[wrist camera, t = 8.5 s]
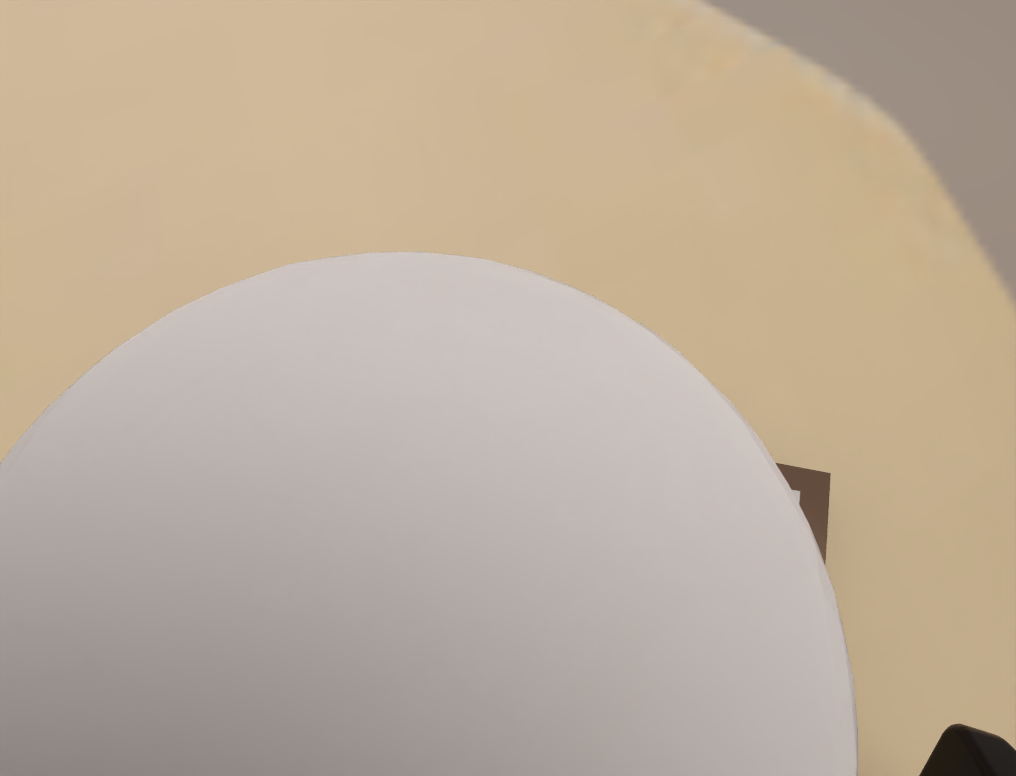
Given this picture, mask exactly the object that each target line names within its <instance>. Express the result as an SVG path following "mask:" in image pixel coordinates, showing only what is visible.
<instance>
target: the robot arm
mask: <svg viewBox="0 0 1016 776" xmlns="http://www.w3.org/2000/svg"><path fill="white" fill-rule="evenodd" d="M919 776H1016V750H1015V749H1014V748H1013V747H1012V746H1011V745H1010V744H1009V743H1008V742H1006V741H1005V740H1004V739H1003V738H1001V737H999V736H997V735H994V734H991V733H988V732H985V731H982V730H979V729H976V728H972V727H969V726H966V725H963V724H954V725H951V726H949V727H948V728H947V729H946V730H945V731H944V733H943V734H942V736H941V738H940V739H939V741H938V743H937V745H936V747H935V748H934V750H933V752H932V754H931V756H930V757H929V759H928V761H927V763H926V765H925V766H924V768H923V770H922V772H921V774H920V775H919Z"/></svg>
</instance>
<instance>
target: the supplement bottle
mask: <svg viewBox="0 0 1016 776" xmlns="http://www.w3.org/2000/svg"><path fill="white" fill-rule="evenodd" d="M857 764H858V728H857V716H856V704H855V692H854V681H853V676H852V671H851V666H850V661H849V656H848V651H847V646H846V641H845V636H844V631H843V626H842V622H841V617H840V613H839V609H838V605H837V601H836V597H835V593H834V590H833V587H832V584H831V581H830V578H829V575H828V573H827V570H826V567H825V564H824V561H823V558H822V556H821V553H820V550H819V547H818V545H817V542H816V540H815V537H814V535H813V533H812V530H811V528H810V525H809V523H808V521H807V519H806V517H805V515H804V513H803V511H802V509H801V507H800V505H799V504H798V502H797V500H796V498H795V496H794V494H793V492H792V490H791V488H790V486H789V484H788V483H787V481H786V479H785V478H784V476H783V475H782V473H781V471H780V470H779V468H778V467H777V465H776V463H775V462H774V460H773V459H772V457H771V455H770V454H769V452H768V451H767V449H766V447H765V446H764V444H763V443H762V441H761V440H760V438H759V437H758V435H757V434H756V433H755V432H754V430H753V429H752V428H751V427H750V425H749V424H748V423H747V421H746V420H745V419H744V418H743V416H742V415H741V414H740V413H739V411H738V410H737V409H736V407H735V406H734V405H733V404H732V402H731V401H729V400H728V399H727V398H726V397H725V396H724V395H723V394H722V393H721V392H720V391H719V390H718V389H717V388H716V387H715V386H714V385H712V384H711V383H710V382H709V381H708V380H707V379H706V378H705V377H704V376H703V375H702V374H701V373H700V372H699V371H698V370H697V369H696V368H695V367H694V366H693V365H692V364H691V363H690V362H689V361H688V360H687V359H686V358H685V357H684V356H683V355H682V354H681V353H680V352H678V351H677V350H676V349H675V348H673V347H672V346H671V345H670V344H669V343H667V342H666V341H665V340H664V339H662V338H661V337H660V336H659V335H657V334H656V333H655V332H653V331H652V330H650V329H648V328H647V327H645V326H643V325H641V324H640V323H638V322H636V321H635V320H633V319H631V318H630V317H628V316H626V315H625V314H623V313H621V312H620V311H618V310H616V309H615V308H613V307H611V306H610V305H608V304H606V303H604V302H603V301H601V300H599V299H597V298H595V297H593V296H591V295H589V294H586V293H584V292H582V291H580V290H578V289H576V288H573V287H571V286H569V285H567V284H564V283H561V282H559V281H556V280H553V279H551V278H548V277H546V276H543V275H540V274H538V273H535V272H532V271H530V270H526V269H522V268H518V267H514V266H510V265H506V264H502V263H498V262H495V261H491V260H487V259H481V258H474V257H468V256H460V255H447V254H437V253H428V252H379V253H362V254H352V255H343V256H337V257H331V258H324V259H318V260H312V261H305V262H299V263H293V264H289V265H286V266H282V267H279V268H276V269H273V270H270V271H267V272H264V273H261V274H258V275H256V276H253V277H250V278H247V279H244V280H241V281H239V282H236V283H233V284H230V285H227V286H224V287H222V288H220V289H218V290H216V291H214V292H212V293H210V294H207V295H205V296H203V297H201V298H199V299H197V300H195V301H193V302H191V303H188V304H186V305H184V306H182V307H180V308H178V309H176V310H174V311H172V312H170V313H169V314H167V315H166V316H164V317H163V318H161V319H160V320H158V321H156V322H155V323H153V324H152V325H150V326H149V327H147V328H146V329H144V330H143V331H141V332H140V333H138V334H137V335H135V336H134V337H132V338H130V339H129V340H127V341H126V342H124V343H123V344H121V345H120V346H118V347H117V348H115V349H114V350H113V351H112V352H110V353H109V354H108V355H106V356H105V357H104V358H103V359H101V360H100V361H99V362H98V363H96V364H95V365H94V366H92V367H91V368H90V369H89V370H88V371H87V372H86V373H84V374H83V375H82V376H81V377H80V378H79V379H78V380H77V381H76V382H75V383H74V384H72V385H71V386H70V387H69V388H68V389H67V390H66V391H65V392H64V393H63V394H61V395H60V396H59V397H58V398H57V399H56V400H55V401H54V402H53V403H52V404H51V405H49V406H48V407H47V408H46V410H45V411H44V412H43V413H42V414H41V415H40V416H39V417H38V419H37V420H36V421H35V422H34V423H33V424H32V425H31V426H30V428H29V429H28V430H27V431H26V432H25V433H24V434H23V435H22V437H21V438H20V439H19V440H18V441H17V442H16V444H15V445H14V446H13V448H12V449H11V450H10V452H9V453H8V454H7V455H6V457H5V458H4V459H3V461H2V462H1V463H0V776H857Z"/></svg>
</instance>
